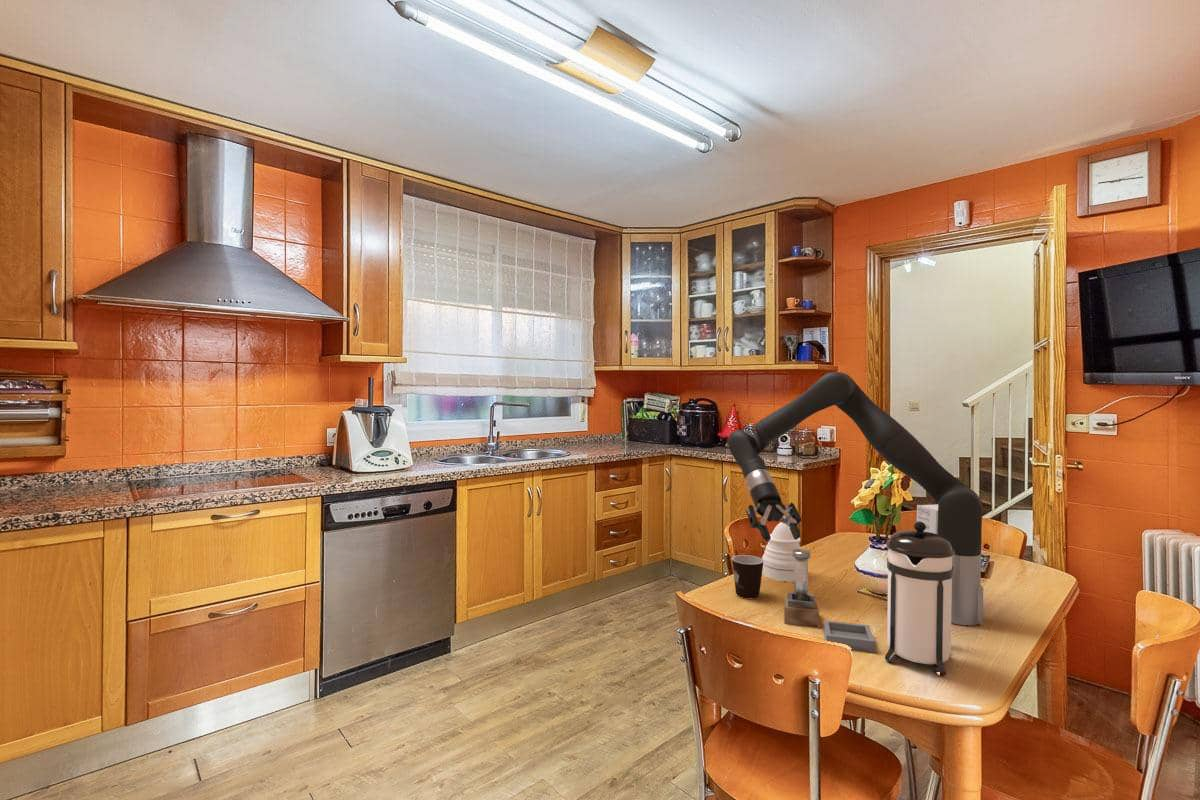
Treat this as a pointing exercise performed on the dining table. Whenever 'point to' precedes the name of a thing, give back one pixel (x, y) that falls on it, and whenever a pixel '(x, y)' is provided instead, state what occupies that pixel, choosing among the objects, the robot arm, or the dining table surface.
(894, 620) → the coffee press
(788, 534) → the honey pot
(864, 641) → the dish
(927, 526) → the supplement box
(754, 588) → the coffee mug
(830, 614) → the dining table surface
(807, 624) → the block
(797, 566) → the pin
